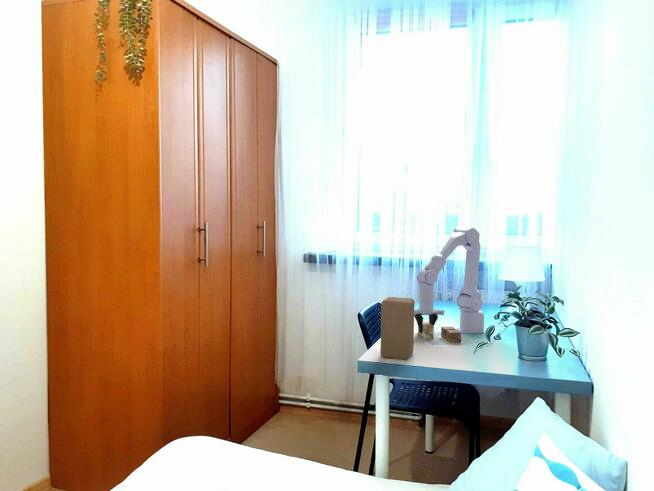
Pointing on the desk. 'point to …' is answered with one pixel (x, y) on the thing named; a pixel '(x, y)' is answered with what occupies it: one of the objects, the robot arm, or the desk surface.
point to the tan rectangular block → (427, 330)
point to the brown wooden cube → (443, 331)
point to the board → (440, 340)
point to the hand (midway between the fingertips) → (425, 332)
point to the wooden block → (397, 328)
